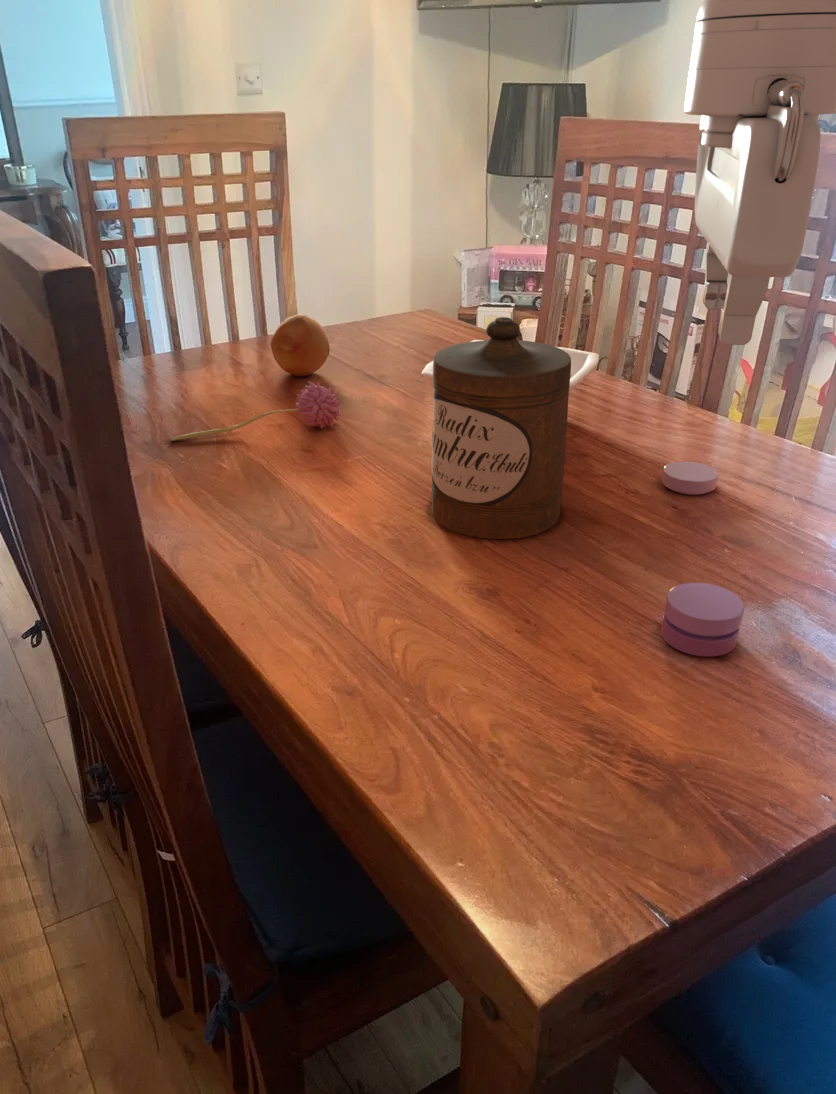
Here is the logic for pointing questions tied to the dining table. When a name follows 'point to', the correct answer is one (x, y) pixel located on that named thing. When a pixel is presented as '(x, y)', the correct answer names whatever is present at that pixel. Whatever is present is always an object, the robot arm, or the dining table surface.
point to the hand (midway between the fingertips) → (723, 323)
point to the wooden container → (499, 434)
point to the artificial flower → (312, 405)
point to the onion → (300, 345)
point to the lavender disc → (704, 609)
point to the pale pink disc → (689, 477)
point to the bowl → (579, 366)
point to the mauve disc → (697, 641)
